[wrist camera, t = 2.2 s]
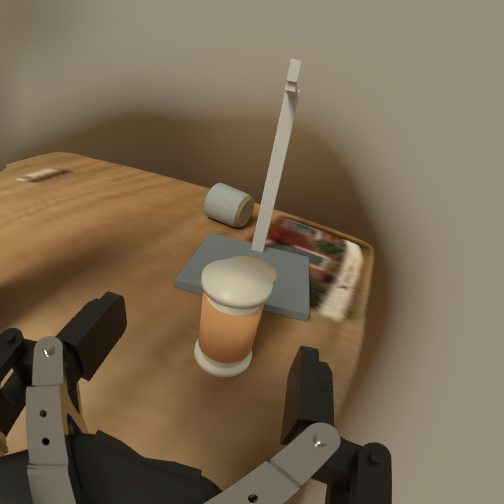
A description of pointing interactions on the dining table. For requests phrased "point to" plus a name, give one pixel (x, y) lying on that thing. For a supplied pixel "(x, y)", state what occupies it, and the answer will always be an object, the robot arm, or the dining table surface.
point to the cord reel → (230, 315)
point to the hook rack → (263, 233)
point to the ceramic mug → (228, 205)
